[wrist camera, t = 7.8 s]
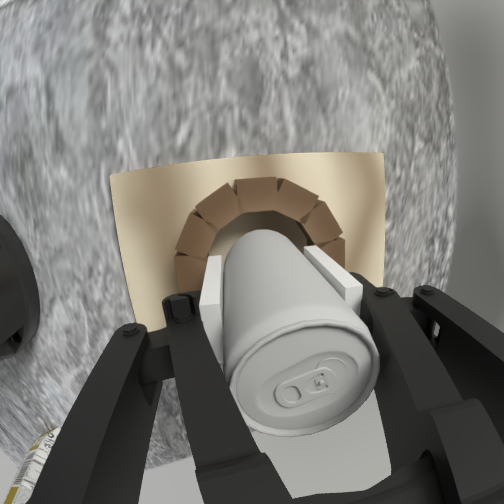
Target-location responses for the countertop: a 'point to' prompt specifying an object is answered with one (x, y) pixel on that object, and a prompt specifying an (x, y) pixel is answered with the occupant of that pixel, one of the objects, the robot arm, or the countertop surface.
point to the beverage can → (291, 341)
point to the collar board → (244, 217)
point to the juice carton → (31, 468)
